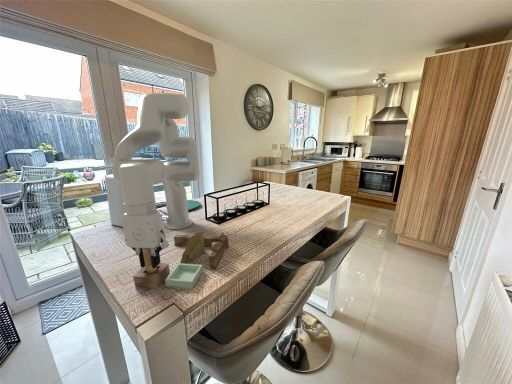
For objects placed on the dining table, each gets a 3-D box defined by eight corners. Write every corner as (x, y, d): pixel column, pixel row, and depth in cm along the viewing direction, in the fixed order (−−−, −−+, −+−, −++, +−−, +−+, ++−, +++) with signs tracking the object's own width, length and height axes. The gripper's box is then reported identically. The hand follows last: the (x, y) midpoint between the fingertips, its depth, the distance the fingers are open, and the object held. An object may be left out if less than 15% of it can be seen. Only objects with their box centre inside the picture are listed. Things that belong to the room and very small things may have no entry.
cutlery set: (206, 207, 131) (206, 203, 131) (157, 222, 111) (157, 218, 110) (190, 201, 145) (190, 198, 144) (144, 213, 124) (143, 210, 124)
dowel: (145, 283, 64) (139, 248, 61) (151, 277, 67) (146, 243, 64) (155, 284, 63) (149, 248, 60) (160, 278, 66) (155, 243, 63)
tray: (166, 286, 62) (165, 279, 62) (179, 269, 70) (178, 263, 70) (192, 289, 61) (191, 281, 61) (203, 271, 69) (202, 264, 69)
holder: (135, 287, 62) (133, 276, 61) (149, 272, 69) (148, 262, 68) (157, 289, 61) (155, 277, 60) (170, 274, 68) (168, 263, 67)
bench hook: (155, 265, 73) (152, 246, 71) (177, 243, 88) (175, 226, 86) (217, 269, 70) (215, 249, 68) (228, 246, 85) (228, 229, 83)
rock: (181, 266, 68) (210, 253, 73) (173, 241, 70) (202, 230, 75) (181, 268, 78) (206, 257, 82) (173, 246, 80) (199, 237, 84)
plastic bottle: (126, 229, 102) (115, 171, 94) (107, 224, 108) (95, 169, 100) (153, 218, 115) (145, 167, 107) (134, 214, 121) (126, 165, 114)
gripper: (103, 211, 56) (116, 271, 61) (161, 213, 54) (169, 275, 59) (124, 202, 63) (134, 256, 68) (175, 204, 61) (182, 259, 66)
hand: (150, 264), depth 64 cm, fingers closed on dowel, 3 cm apart
